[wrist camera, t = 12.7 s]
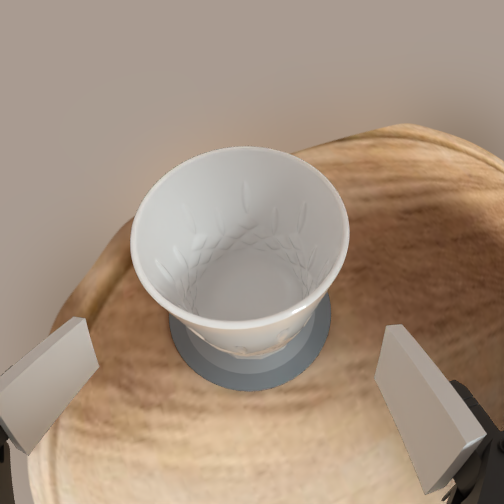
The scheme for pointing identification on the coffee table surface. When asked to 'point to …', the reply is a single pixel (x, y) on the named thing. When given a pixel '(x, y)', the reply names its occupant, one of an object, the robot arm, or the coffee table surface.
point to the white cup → (241, 246)
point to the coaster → (254, 370)
